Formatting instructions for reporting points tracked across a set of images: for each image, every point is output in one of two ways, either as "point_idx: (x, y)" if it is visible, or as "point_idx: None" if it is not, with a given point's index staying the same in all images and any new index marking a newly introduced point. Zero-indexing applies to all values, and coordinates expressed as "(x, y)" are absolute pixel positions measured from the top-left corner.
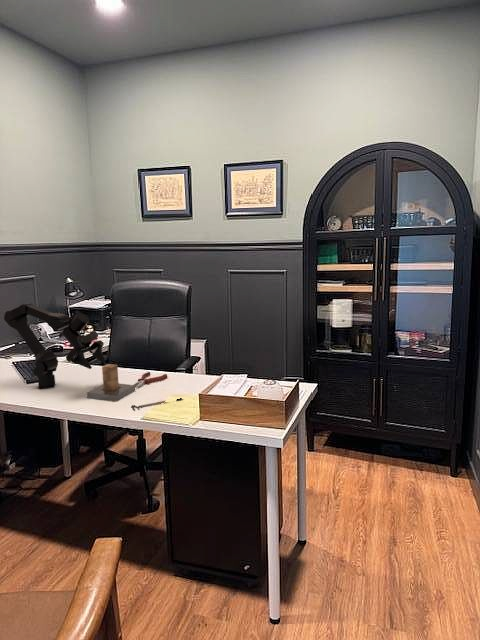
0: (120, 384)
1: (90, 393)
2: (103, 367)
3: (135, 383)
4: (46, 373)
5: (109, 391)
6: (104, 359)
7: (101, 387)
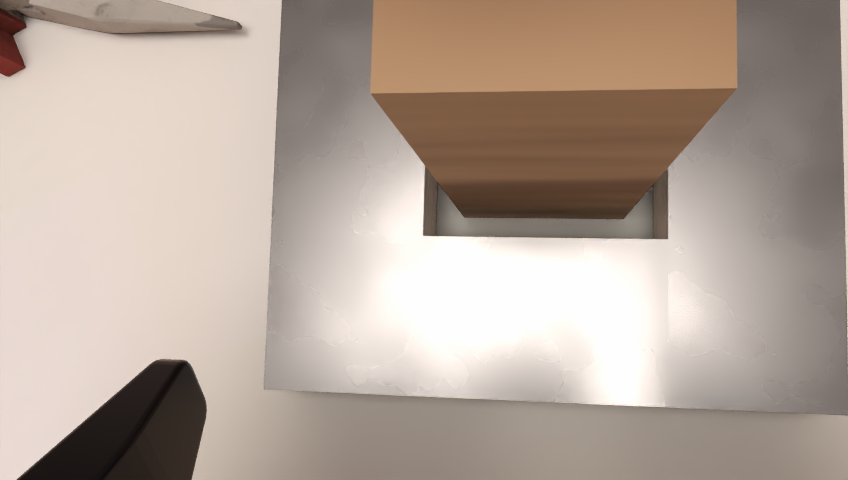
0: (314, 104)
1: (841, 332)
2: (728, 42)
3: (124, 3)
4: None
5: None
6: (109, 415)
7: (543, 315)
